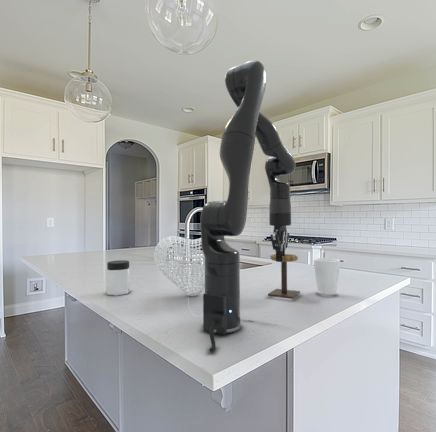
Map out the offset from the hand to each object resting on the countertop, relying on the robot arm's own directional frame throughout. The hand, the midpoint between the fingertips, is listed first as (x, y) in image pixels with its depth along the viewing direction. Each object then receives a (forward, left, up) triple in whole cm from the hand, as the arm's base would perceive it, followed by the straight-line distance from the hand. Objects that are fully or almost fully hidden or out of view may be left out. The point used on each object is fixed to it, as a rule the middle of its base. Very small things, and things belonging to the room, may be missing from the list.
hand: (280, 261), depth 108 cm
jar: (-21, +58, -14) cm, 63 cm away
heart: (-11, +30, -14) cm, 35 cm away
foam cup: (+14, -13, -14) cm, 23 cm away
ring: (+4, 0, +1) cm, 4 cm away
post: (+4, 0, -13) cm, 14 cm away
